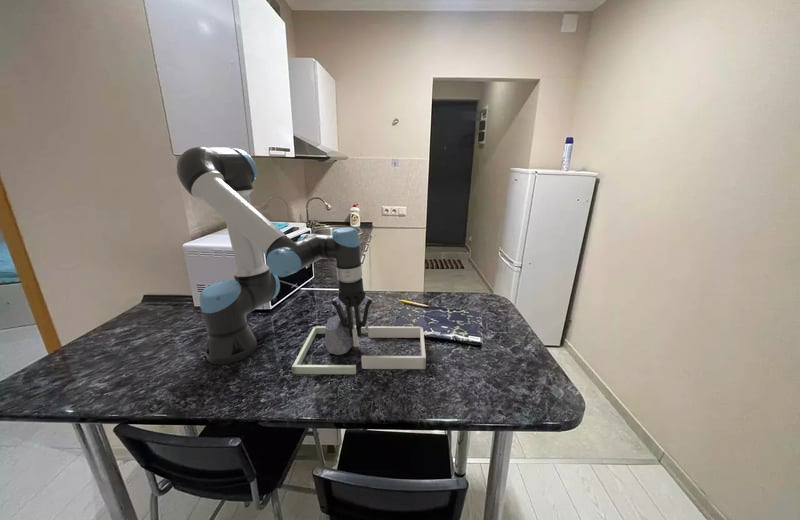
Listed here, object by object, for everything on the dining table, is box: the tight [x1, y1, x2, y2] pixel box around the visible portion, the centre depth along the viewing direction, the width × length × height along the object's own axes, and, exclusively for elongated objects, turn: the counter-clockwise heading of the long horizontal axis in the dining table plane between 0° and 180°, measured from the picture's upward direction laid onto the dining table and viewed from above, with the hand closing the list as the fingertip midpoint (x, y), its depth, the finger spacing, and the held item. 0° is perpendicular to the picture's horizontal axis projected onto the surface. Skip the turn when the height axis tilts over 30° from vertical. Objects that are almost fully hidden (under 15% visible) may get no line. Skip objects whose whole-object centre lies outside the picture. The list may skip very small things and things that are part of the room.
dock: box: [360, 325, 427, 370], centre depth 101 cm, size 20×18×4 cm
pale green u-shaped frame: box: [291, 325, 366, 375], centre depth 102 cm, size 19×23×2 cm
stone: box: [324, 313, 354, 356], centre depth 101 cm, size 12×10×10 cm
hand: (356, 344), depth 101 cm, fingers closed
